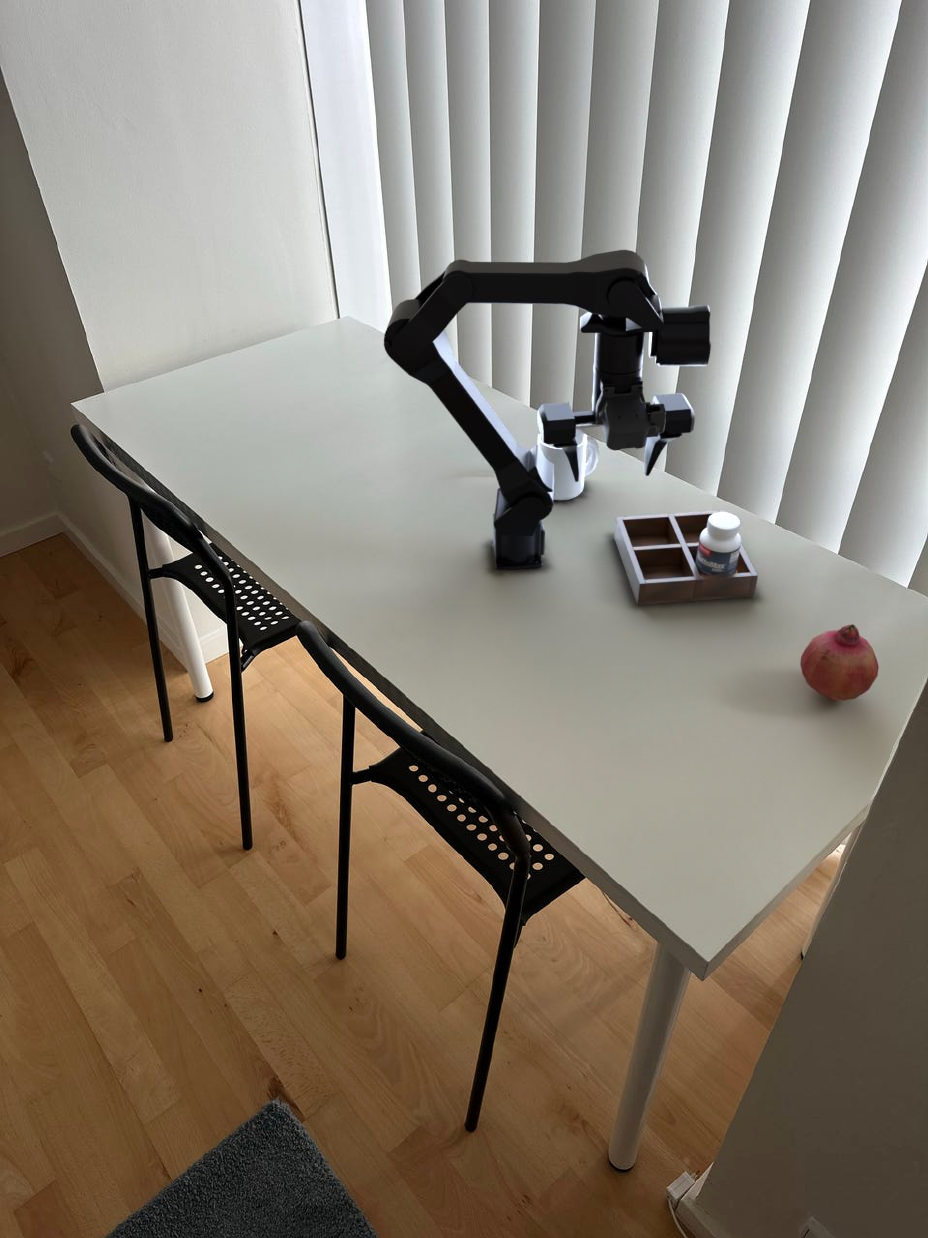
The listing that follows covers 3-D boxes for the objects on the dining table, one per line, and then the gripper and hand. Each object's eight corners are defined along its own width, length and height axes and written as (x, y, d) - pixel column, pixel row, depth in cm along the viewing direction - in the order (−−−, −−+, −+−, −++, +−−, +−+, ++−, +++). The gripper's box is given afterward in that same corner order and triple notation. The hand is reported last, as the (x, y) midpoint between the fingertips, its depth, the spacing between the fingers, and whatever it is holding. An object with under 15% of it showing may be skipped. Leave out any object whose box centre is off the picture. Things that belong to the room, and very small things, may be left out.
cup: (528, 483, 147) (529, 431, 141) (585, 468, 150) (588, 417, 144) (550, 505, 142) (552, 453, 136) (608, 489, 145) (612, 437, 139)
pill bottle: (686, 577, 126) (695, 522, 121) (705, 559, 129) (714, 504, 124) (722, 592, 124) (733, 536, 118) (741, 573, 127) (752, 517, 121)
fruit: (787, 668, 113) (804, 603, 107) (856, 668, 113) (876, 603, 106) (803, 717, 107) (822, 651, 101) (876, 717, 107) (899, 651, 100)
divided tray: (637, 605, 123) (639, 583, 121) (614, 537, 135) (615, 517, 133) (753, 596, 124) (758, 575, 122) (720, 530, 136) (724, 509, 133)
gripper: (551, 401, 107) (549, 517, 117) (714, 388, 107) (699, 504, 117) (536, 359, 115) (536, 471, 125) (688, 347, 116) (676, 459, 126)
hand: (611, 477), depth 123 cm, fingers open, 9 cm apart
